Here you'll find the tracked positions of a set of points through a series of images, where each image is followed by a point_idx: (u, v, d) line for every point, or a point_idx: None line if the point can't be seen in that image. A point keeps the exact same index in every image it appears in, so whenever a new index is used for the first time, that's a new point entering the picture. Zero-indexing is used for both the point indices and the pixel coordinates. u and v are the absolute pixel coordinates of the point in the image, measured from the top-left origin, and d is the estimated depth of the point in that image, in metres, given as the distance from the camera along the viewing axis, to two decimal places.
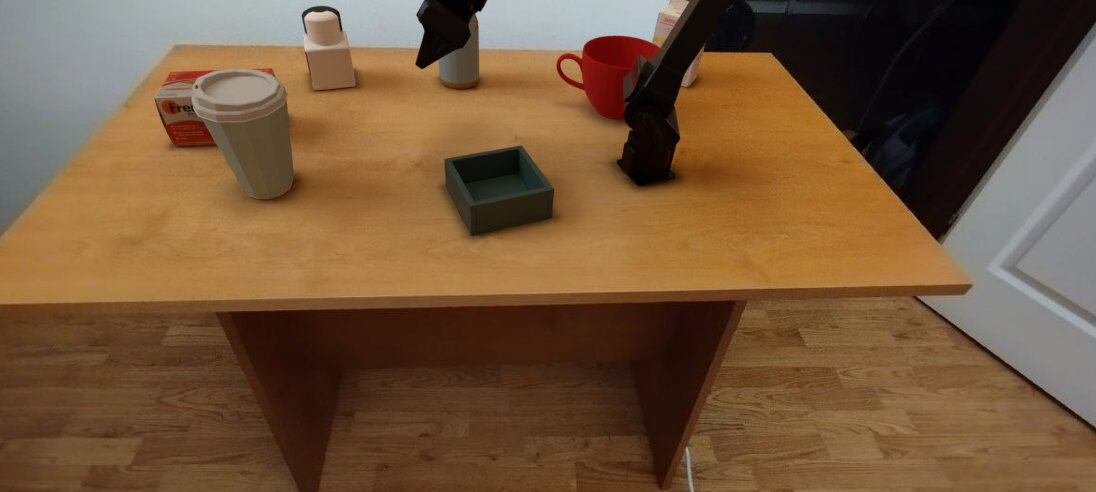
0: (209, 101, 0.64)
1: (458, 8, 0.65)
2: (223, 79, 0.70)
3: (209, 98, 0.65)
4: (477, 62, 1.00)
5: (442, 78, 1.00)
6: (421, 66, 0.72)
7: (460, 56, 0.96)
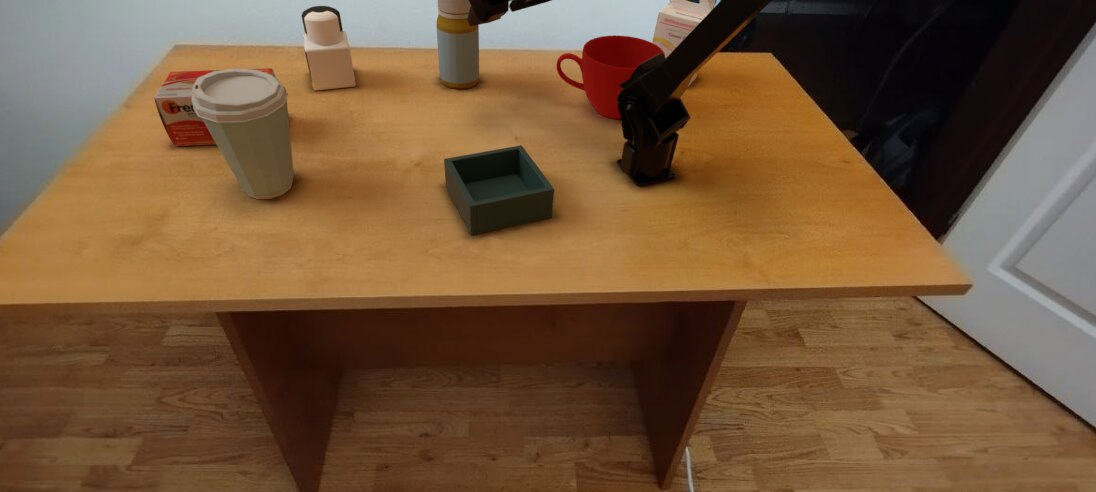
0: (209, 101, 0.64)
1: None
2: (223, 79, 0.70)
3: (209, 98, 0.65)
4: (477, 62, 1.00)
5: (442, 78, 1.00)
6: (470, 23, 0.86)
7: (460, 56, 0.96)
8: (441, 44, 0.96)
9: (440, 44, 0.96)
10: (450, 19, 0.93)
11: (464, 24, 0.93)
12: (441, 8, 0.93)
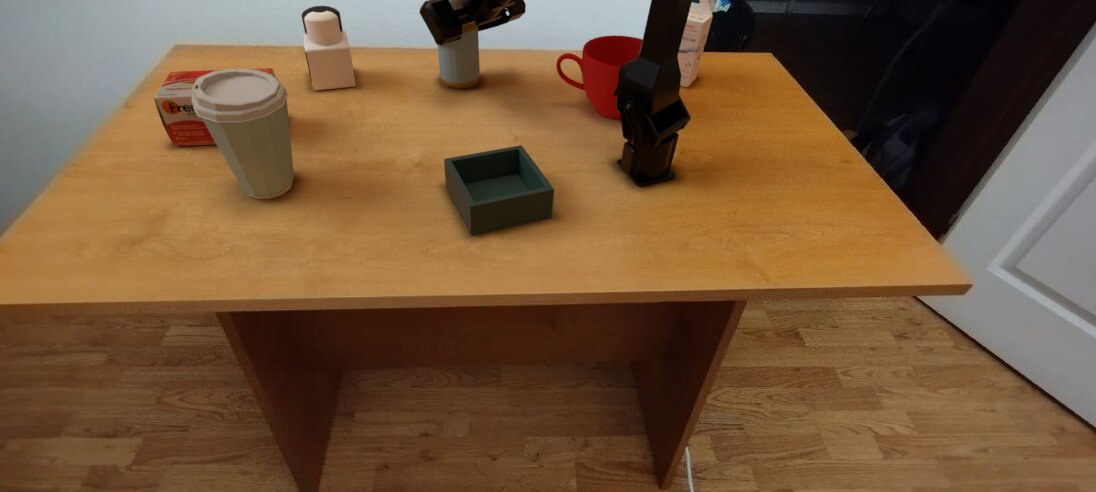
0: (209, 101, 0.64)
1: (449, 16, 0.87)
2: (223, 79, 0.70)
3: (209, 98, 0.65)
4: (477, 61, 0.99)
5: (443, 77, 1.00)
6: (436, 42, 0.96)
7: (459, 55, 0.96)
8: None
9: None
10: None
11: None
12: None
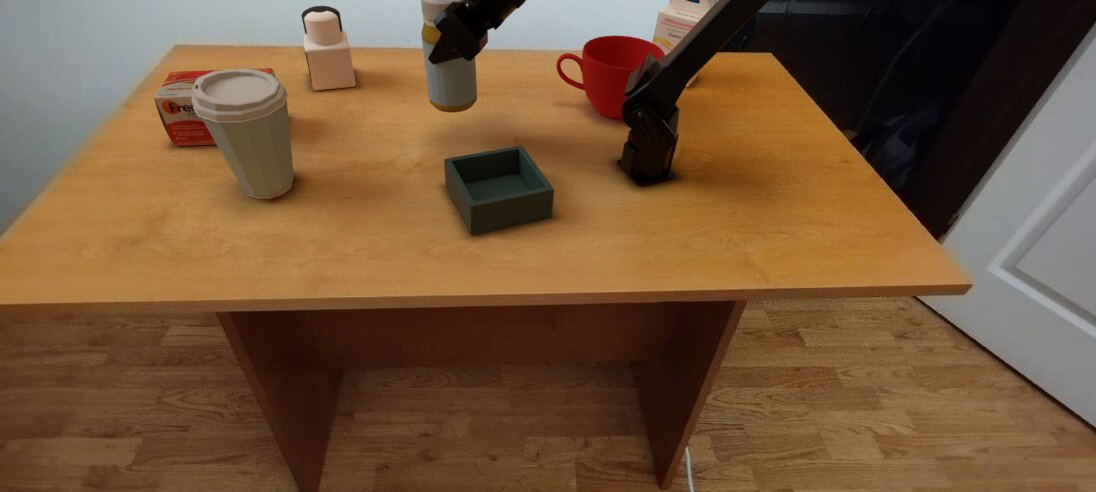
0: (209, 101, 0.64)
1: (474, 24, 0.69)
2: (223, 79, 0.70)
3: (209, 98, 0.65)
4: None
5: (441, 103, 0.81)
6: (433, 62, 0.77)
7: (464, 71, 0.79)
8: (439, 63, 0.77)
9: None
10: None
11: None
12: (435, 18, 0.74)
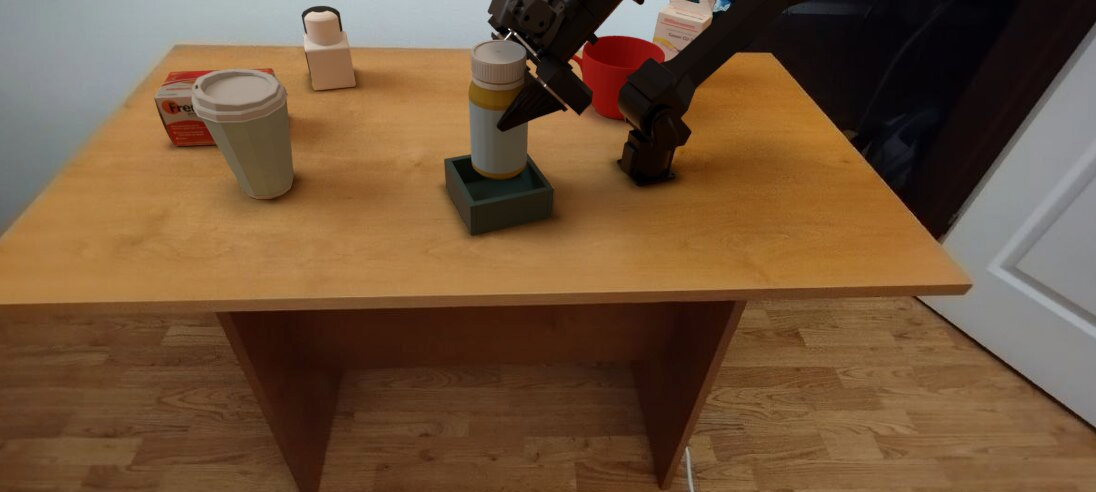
0: (209, 101, 0.64)
1: None
2: (223, 79, 0.70)
3: (209, 98, 0.65)
4: None
5: (505, 171, 0.70)
6: (503, 129, 0.65)
7: (526, 128, 0.69)
8: None
9: None
10: (518, 87, 0.64)
11: None
12: (505, 80, 0.62)
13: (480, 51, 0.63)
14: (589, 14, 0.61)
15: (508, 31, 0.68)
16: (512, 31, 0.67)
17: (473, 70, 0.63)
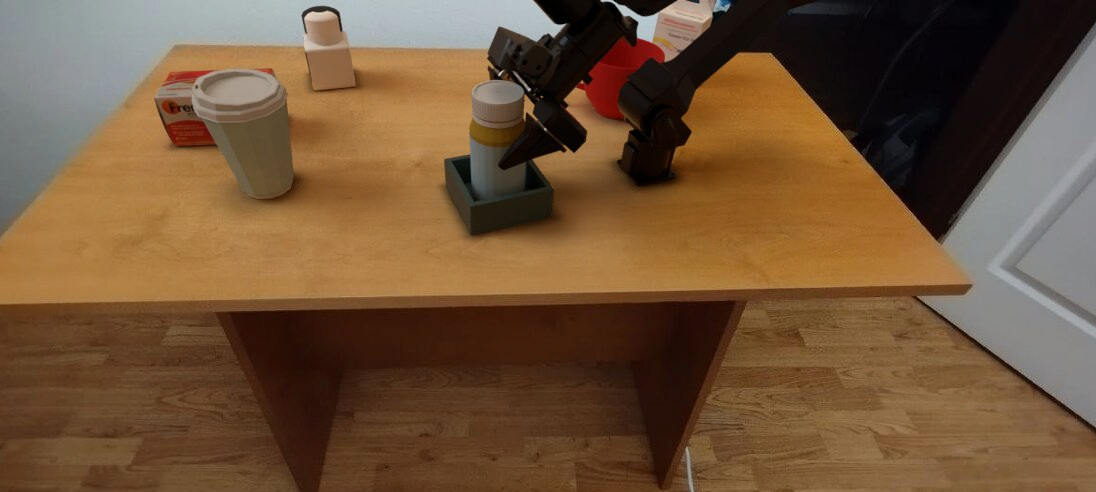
0: (209, 101, 0.64)
1: None
2: (223, 79, 0.70)
3: (209, 98, 0.65)
4: None
5: None
6: (505, 167, 0.68)
7: (524, 162, 0.72)
8: None
9: None
10: (517, 125, 0.68)
11: (524, 122, 0.69)
12: (504, 118, 0.66)
13: (480, 91, 0.67)
14: (584, 57, 0.65)
15: None
16: None
17: (474, 109, 0.67)
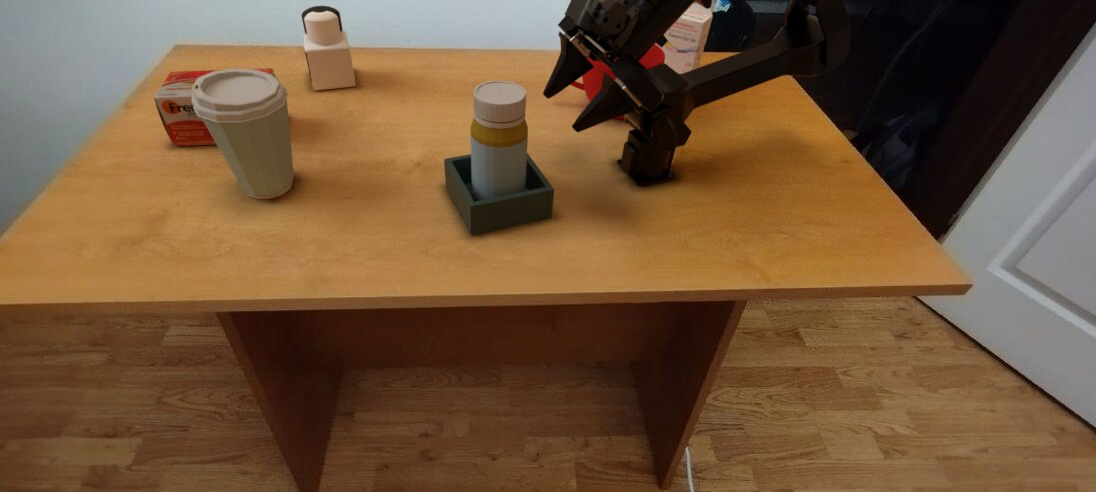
0: (209, 101, 0.64)
1: None
2: (223, 79, 0.70)
3: (209, 98, 0.65)
4: None
5: None
6: (579, 129, 0.68)
7: (525, 163, 0.72)
8: (507, 163, 0.70)
9: (505, 164, 0.70)
10: (518, 125, 0.68)
11: (525, 122, 0.70)
12: (506, 119, 0.66)
13: (482, 91, 0.67)
14: (661, 17, 0.65)
15: (575, 30, 0.72)
16: (579, 30, 0.72)
17: (475, 109, 0.67)
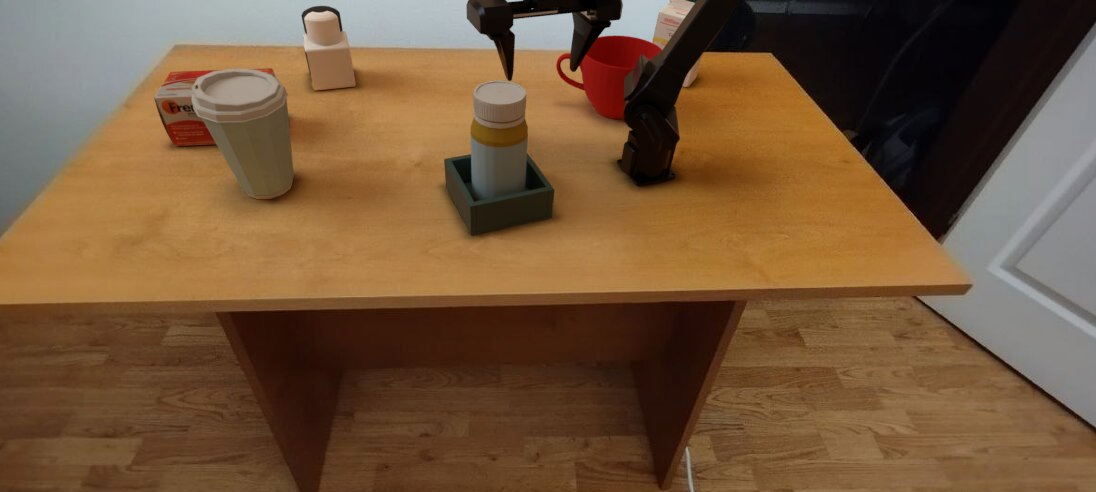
0: (209, 101, 0.64)
1: (494, 1, 0.67)
2: (223, 79, 0.70)
3: (209, 98, 0.65)
4: None
5: None
6: (507, 77, 0.74)
7: (525, 163, 0.72)
8: (507, 163, 0.70)
9: (505, 164, 0.70)
10: (518, 125, 0.68)
11: (525, 122, 0.70)
12: (506, 119, 0.66)
13: (482, 91, 0.67)
14: None
15: None
16: None
17: (475, 109, 0.67)
